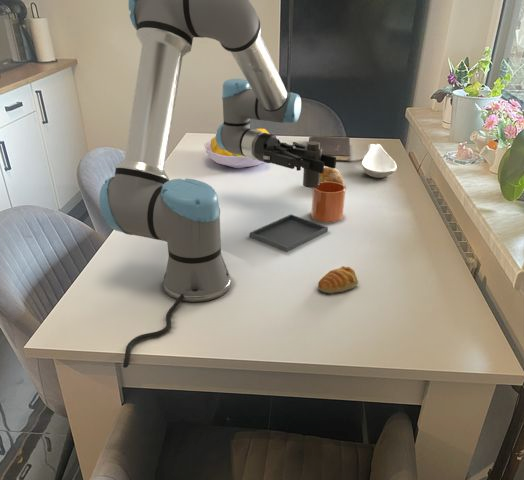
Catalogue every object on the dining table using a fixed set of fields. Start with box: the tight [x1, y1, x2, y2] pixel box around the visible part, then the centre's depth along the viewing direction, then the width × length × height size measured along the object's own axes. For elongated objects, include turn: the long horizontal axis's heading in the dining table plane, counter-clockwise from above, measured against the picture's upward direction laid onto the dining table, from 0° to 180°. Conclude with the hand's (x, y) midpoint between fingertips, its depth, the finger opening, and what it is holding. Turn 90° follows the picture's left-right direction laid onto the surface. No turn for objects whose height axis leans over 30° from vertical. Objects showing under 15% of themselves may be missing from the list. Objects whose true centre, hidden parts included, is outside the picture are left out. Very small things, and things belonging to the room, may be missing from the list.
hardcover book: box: [308, 135, 351, 163], centre depth 207 cm, size 16×23×2 cm
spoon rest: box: [361, 143, 398, 179], centre depth 189 cm, size 24×12×7 cm, turn 0°
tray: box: [249, 214, 329, 253], centre depth 147 cm, size 17×13×2 cm
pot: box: [311, 182, 346, 223], centre depth 155 cm, size 9×9×9 cm
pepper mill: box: [302, 141, 322, 189], centre depth 142 cm, size 4×4×11 cm
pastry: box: [317, 265, 359, 294], centre depth 124 cm, size 9×7×4 cm
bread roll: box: [320, 166, 344, 185], centre depth 176 cm, size 10×10×8 cm
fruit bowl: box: [203, 127, 270, 169], centre depth 195 cm, size 28×27×11 cm
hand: (328, 165), depth 139 cm, fingers closed on pepper mill, 4 cm apart
